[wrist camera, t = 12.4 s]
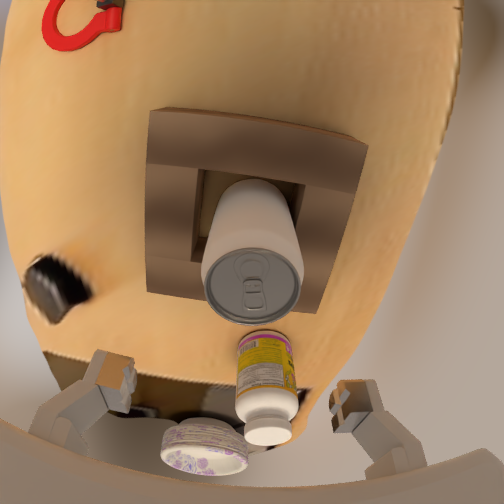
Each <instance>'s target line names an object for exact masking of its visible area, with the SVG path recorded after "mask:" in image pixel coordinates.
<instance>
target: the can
mask: <svg viewBox="0 0 504 504" xmlns="http://www.w3.org/2000/svg"><path fill="white" fill-rule="evenodd" d="M201 277H202V282H203V285H204V292H205V296H206V299H207V301H208V303H209V305H210V306H211V308H212V309H213V310H214V311H215V312H216V313H217V314H218V315H220V316H221V317H223V318H224V319H226V320H228V321H231V322H233V323H236V324H240V325H247V326H258V325H265V324H269V323H272V322H274V321H277V320H279V319H281V318H282V317H284V316H285V315H287V314H288V313H289V312H290V311H291V310H292V309H293V307H294V306H295V305H296V303H297V301H298V299H299V296H300V292H301V285H302V282H303V277H304V266H303V260H302V255H301V251H300V247H299V244H298V240H297V236H296V233H295V229H294V225H293V222H292V218H291V215H290V211H289V208H288V205H287V202H286V200H285V198H284V196H283V194H282V193H281V191H280V190H279V189H278V188H277V187H275V186H274V185H272V184H271V183H269V182H267V181H264V180H261V179H246V180H242V181H239V182H236V183H234V184H233V185H231V186H230V187H229V188H227V189H226V190H225V192H224V193H223V194H222V196H221V198H220V200H219V202H218V205H217V208H216V212H215V215H214V218H213V222H212V225H211V229H210V233H209V236H208V240H207V244H206V247H205V251H204V255H203V260H202V265H201Z"/></svg>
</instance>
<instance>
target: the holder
mask: <svg viewBox="0 0 504 504" xmlns="http://www.w3.org/2000/svg"><path fill="white" fill-rule="evenodd" d="M367 149H368V145H366V144H365V143H363V142H361V141H359V140H357V139H355V138H353V137H351V136H348V135H344V134H340V133H336V132H332V131H327V130H323V129H319V128H314V127H309V126H305V125H300V124H295V123H290V122H284V121H279V120H273V119H267V118H261V117H255V116H248V115H241V114H233V113H225V112H217V111H207V110H197V109H185V108H171V107H165V108H161V109H156V110H152V111H150V117H149V128H148V142H147V158H146V180H145V262H146V285H147V292H151V293H157V294H163V295H170V296H176V297H183V298H189V299H196V300H203V301H207V299H206V296H205V292H204V285H203V282H202V277H201V265H202V260H203V255H204V251H205V247H206V244H207V240H208V238H202V237H199V226H200V215H201V204H202V194H203V185H204V175H205V169H206V170H214V171H222V172H229V173H236V174H243V175H250V176H257V177H263V178H269V179H276V180H282V181H287V182H293V183H295V185H294V190H293V194H292V199H291V203H290V208H289V211H290V215H291V218H292V222H293V225H294V229H295V233H296V236H297V240H298V244H299V247H300V251H301V255H302V260H303V266H304V277H303V282H302V285H301V292H300V296H299V299H298V301H297V303H296V305H295V306H294V307H293V309H292V310H291V311H292V312H302V313H313V314H316V313H317V310H318V307H319V304H320V302H321V299H322V296H323V293H324V291H325V288H326V285H327V282H328V279H329V277H330V274H331V271H332V268H333V265H334V262H335V259H336V256H337V253H338V250H339V247H340V244H341V240H342V237H343V234H344V231H345V228H346V225H347V221H348V218H349V215H350V211H351V208H352V205H353V201H354V198H355V194H356V191H357V187H358V183H359V180H360V176H361V172H362V169H363V165H364V161H365V157H366V153H367Z"/></svg>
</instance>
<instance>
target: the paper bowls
mask: <svg viewBox="0 0 504 504" xmlns="http://www.w3.org/2000/svg"><path fill="white" fill-rule="evenodd" d="M161 458H162V460H163V461H164V462H166V463H167V464H168V465H170V466H172V467H174V468H176V469H179V470H182V471H186V472H190V473H194V474H200V475H211V476H212V475H213V476H220V475H229V474H234V473H238V472H240V471H242V470H244V469H245V468H246V467H247V465H248V442H247V441H246V440H245V437H244V436H242V435H241V434H239V433H237V432H236V431H235V430H234V428H233V427H232V426H230V425H229V424H227V423H226V422H223V421H221V420H217V419H213V418H206V417H195V418H189V419H186V420H184V421H182V422H181V423H179V425H177V426H172V427H170V428H168V429H167V430H166V431H165V433H164V436H163V441H162V448H161Z"/></svg>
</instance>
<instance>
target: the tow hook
mask: <svg viewBox="0 0 504 504" xmlns="http://www.w3.org/2000/svg"><path fill="white" fill-rule="evenodd" d="M64 1H65V0H50V2H49V4H48V6H47V8H46V10H45V12H44V16H43V19H42V34H43V38H44V40H45V42H46V44H47V45H48V46H50V47H51V48H52V49H55V50H58V51H73V50H76V49H79V48H82V47H83V46H85V45H87V44H88V43H90V42H91V41H92V40H93V39H94V38H96V37H97V36H98V35H99V34H100V33H102V32H116V31H119V30H120V24H121V12H122V8H123V2H124V0H96V1H97V7H98V8H101V9H103V10H106V11H104V12H100V13H97V14H96V15H95V16H94V17H93V19H92V20H91V22H90V23H89V24H88V25H87V26H86V27H85V28H84V29H83V30H82V31H80V32H79V33H77V34H75V35H72V36H63V35H62V34H60V33H59V31H58V29H57V26H56V17H57V14H58V11H59V9H60V7H61V5H62V4H63V2H64Z"/></svg>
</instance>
